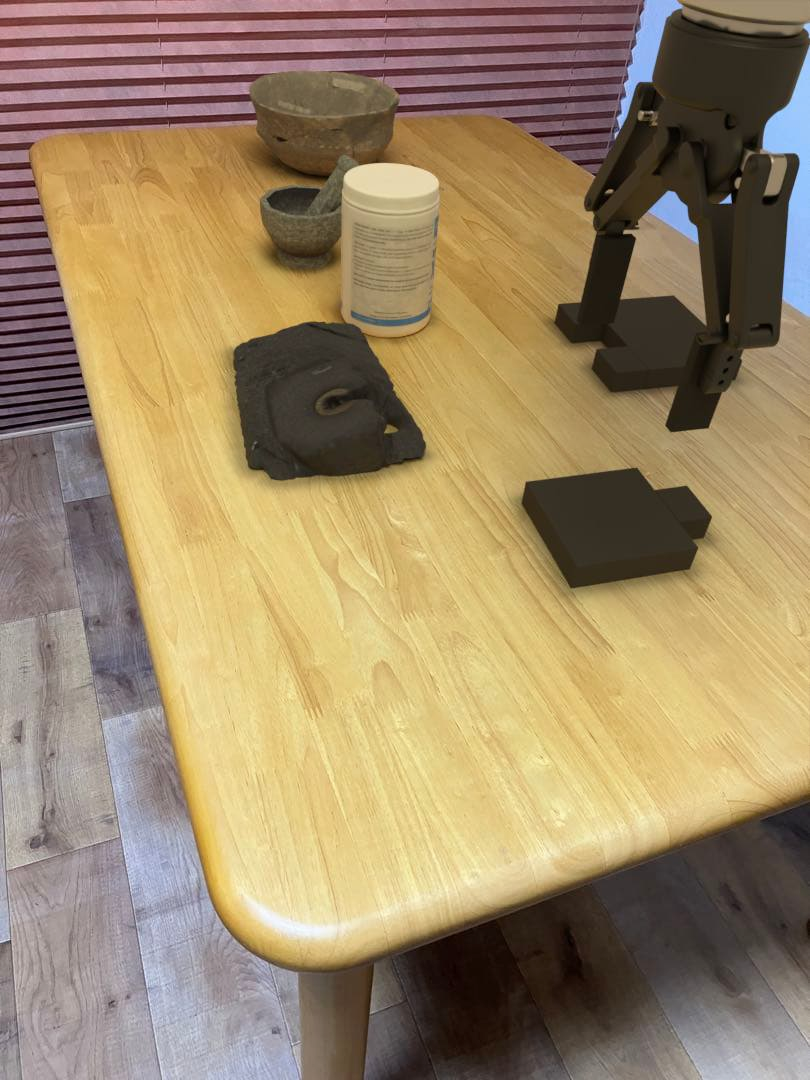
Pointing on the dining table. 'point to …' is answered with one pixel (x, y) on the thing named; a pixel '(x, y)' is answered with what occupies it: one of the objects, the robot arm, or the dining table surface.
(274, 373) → the dark slate chunk
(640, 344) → the base pad
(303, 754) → the dining table surface
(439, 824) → the dining table surface
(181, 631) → the dining table surface
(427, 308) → the supplement tub
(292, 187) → the mortar and pestle
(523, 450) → the dining table surface
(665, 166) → the robot arm
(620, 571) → the small pad
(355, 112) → the bowl
